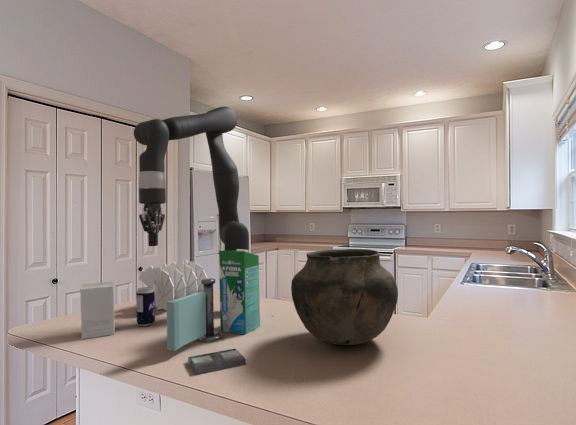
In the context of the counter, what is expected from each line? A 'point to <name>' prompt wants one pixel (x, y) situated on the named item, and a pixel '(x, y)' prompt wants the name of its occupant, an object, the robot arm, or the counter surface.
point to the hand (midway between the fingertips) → (153, 245)
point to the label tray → (216, 361)
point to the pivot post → (209, 312)
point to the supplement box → (97, 310)
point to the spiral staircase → (173, 281)
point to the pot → (344, 295)
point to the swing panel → (185, 320)
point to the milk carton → (239, 291)
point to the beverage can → (145, 306)
